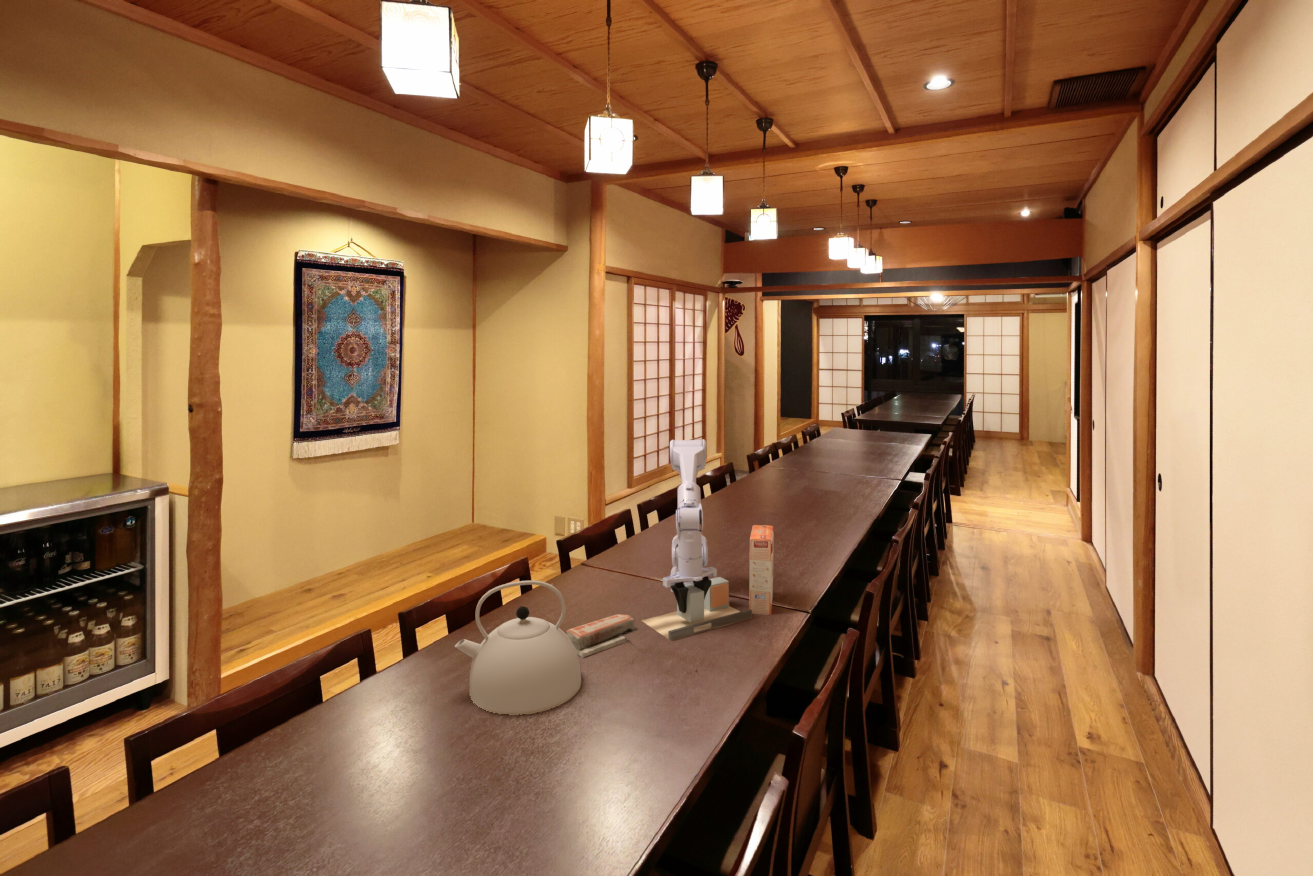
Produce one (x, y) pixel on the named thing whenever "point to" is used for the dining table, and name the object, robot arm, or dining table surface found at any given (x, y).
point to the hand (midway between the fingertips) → (690, 609)
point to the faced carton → (717, 595)
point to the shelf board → (679, 627)
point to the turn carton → (693, 604)
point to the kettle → (522, 662)
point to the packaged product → (600, 634)
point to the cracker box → (761, 569)
